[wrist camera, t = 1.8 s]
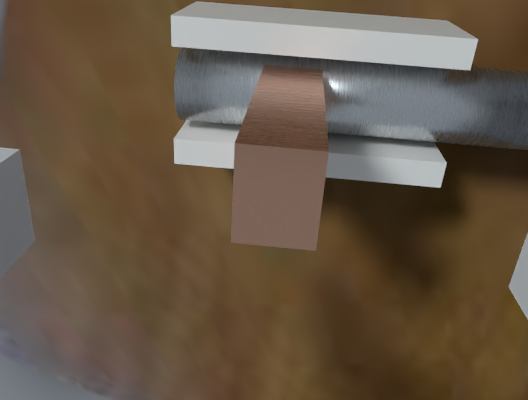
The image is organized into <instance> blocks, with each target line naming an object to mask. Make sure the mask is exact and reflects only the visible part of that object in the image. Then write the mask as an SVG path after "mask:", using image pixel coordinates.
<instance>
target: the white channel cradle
mask: <svg viewBox="0 0 528 400" xmlns="http://www.w3.org/2000/svg"><path fill="white" fill-rule="evenodd" d="M171 41H172V46H173V47H185V48H198V49H210V50H223V51H235V52H247V53H260V54H272V55H285V56H297V57H309V58H322V59H334V60H346V61H359V62H371V63H384V64H396V65H408V66H421V67H433V68H445V69H458V70H471V66H472V62H473V58H474V54H475V50H476V46H477V42H478V39H477V38H475V37H474V36H472V35H470V34H469V33H467V32H465V31H464V30H462V29H460V28H459V27H457V26H455V25H454V24H452V23H450V22H449V21H446V20H433V19H420V18H407V17H394V16H381V15H368V14H355V13H342V12H329V11H315V10H302V9H289V8H276V7H263V6H250V5H237V4H224V3H211V2H198V1H196V2H195V3H193V4H191V5H189V6H187V7H185V8H183V9H182V10H180V11H178V12H176V13H174V14H172V15H171ZM240 128H241V125H235V124H224V123H212V122H201V121H189V120H186V122H185V123H184V125H183V126H182V128H181V129H180V130H179V132H178V133H177V135H176V136H175V138H174V163H175V164H186V165H197V166H208V167H219V168H230V169H234V146H235V141H236V138H237V136H238V133H239V130H240ZM327 134H328V146H329V155H328V162H327V170H326V177H328V178H339V179H350V180H361V181H372V182H382V183H393V184H404V185H415V186H426V187H437V188H441V184H442V180H443V176H444V172H445V168H446V165H447V162H446V161H445V159H444V158H443V156H442V154H441V153H440V151H439V149H438V148H437V146H436V144H435V143H434V142H429V141H418V140H406V139H395V138H383V137H372V136H361V135H349V134H338V133H327Z"/></svg>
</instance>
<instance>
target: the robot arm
mask: <svg viewBox="0 0 528 400" xmlns="http://www.w3.org/2000/svg"><path fill="white" fill-rule="evenodd" d="M34 242H35V236H34V230H33V224H32V219H31V213H30V207H29V201H28V195H27V189H26V184H25V178H24V172H23V166H22V160H21V155H20V149H9V148H0V278H1V277H2V276H3V275H4V274H5V273H6V272H7V271H8V270H9V269H10V268H11V267H12V266H13V264H14V263H15V262H16V261H17V260H18V259H19V258H20V257H21V256H22V255H23V254H24V253H25V251H26V250H27V249H28V248H29V247H30V246H31V245H32V244H33V243H34ZM509 289H510V290H511V292H512V294H513V295H514V297H515V299H516V300H517V302H518V304H519V306H520V307H521V309H522V311H523V312H524V314H525V316H526V317H527V319H528V233H527V236H526V239H525V242H524V245H523V248H522V250H521V253H520V256H519V259H518V262H517V265H516V267H515V270H514V273H513V276H512V279H511V281H510V284H509Z"/></svg>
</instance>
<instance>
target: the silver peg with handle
mask: <svg viewBox="0 0 528 400" xmlns="http://www.w3.org/2000/svg"><path fill="white" fill-rule="evenodd" d="M174 93H175V106H176V112H177V115H178V117H179V119H180V120H189V121H201V122H212V123H224V124H235V125H241V128H240V130H239V133H238V136H237V138H236V141H235V146H234V174H233V201H232V229H231V243H242V244H252V245H262V246H272V247H282V248H292V249H303V250H313V251H316V246H317V238H318V231H319V223H320V216H321V208H322V200H323V193H324V185H325V178H326V170H327V162H328V155H329V146H328V134H327V133H338V134H349V135H361V136H372V137H383V138H395V139H406V140H418V141H429V142H441V143H452V144H463V145H475V146H486V147H498V148H509V149H520V150H528V72H523V71H511V70H498V69H486V68H474V67H471V70H458V69H445V68H433V67H421V66H408V65H396V64H384V63H371V62H359V61H346V60H334V59H322V58H309V57H297V56H285V55H272V54H260V53H247V52H235V51H223V50H210V49H198V48H185V47H181V48H180V51H179V54H178V58H177V63H176V70H175V86H174Z"/></svg>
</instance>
